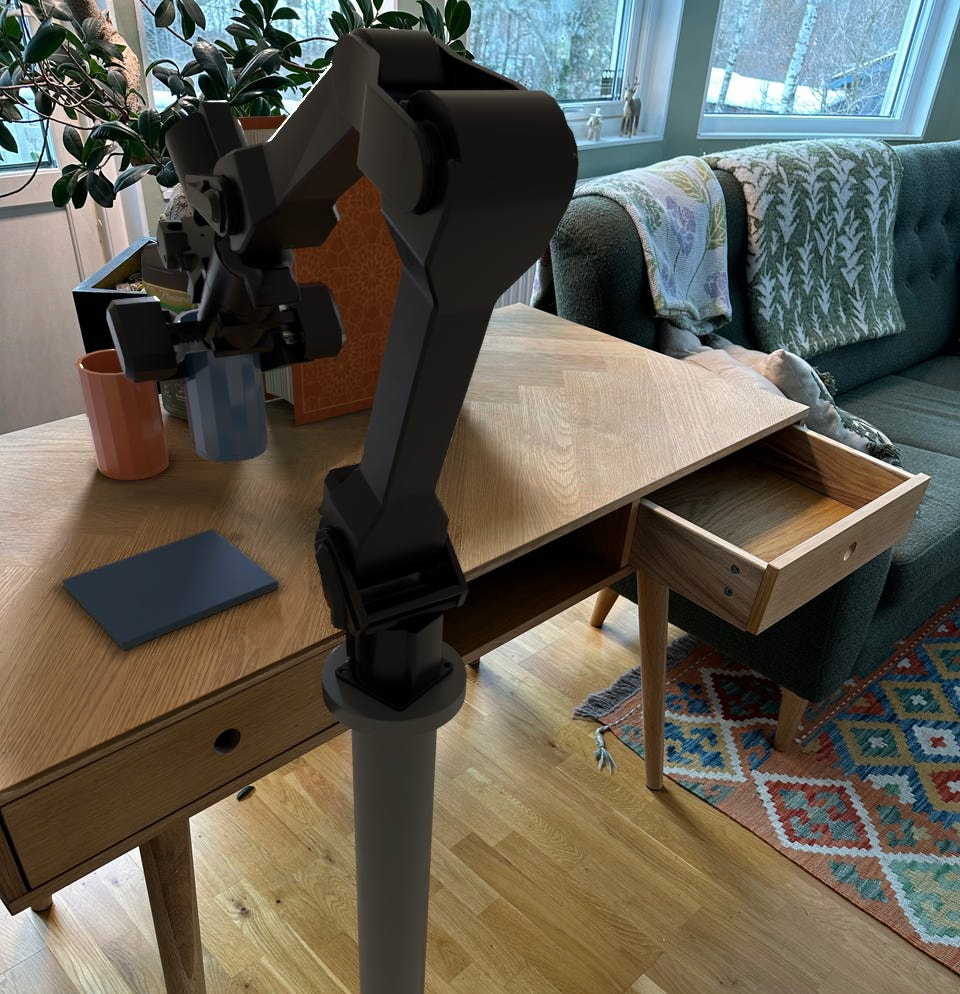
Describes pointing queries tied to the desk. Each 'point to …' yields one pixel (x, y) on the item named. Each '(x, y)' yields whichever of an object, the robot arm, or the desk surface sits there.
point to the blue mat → (168, 587)
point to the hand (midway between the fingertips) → (218, 374)
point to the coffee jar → (175, 299)
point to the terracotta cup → (122, 418)
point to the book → (341, 300)
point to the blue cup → (225, 404)
